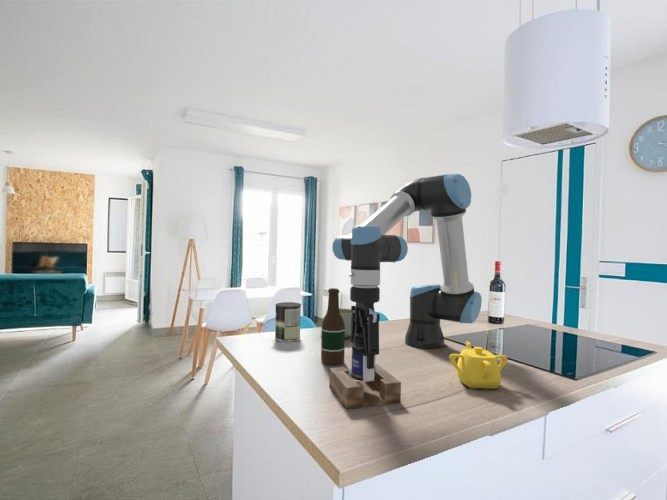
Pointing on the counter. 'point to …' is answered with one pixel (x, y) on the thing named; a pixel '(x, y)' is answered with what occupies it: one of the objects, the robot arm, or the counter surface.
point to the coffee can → (287, 321)
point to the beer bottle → (333, 332)
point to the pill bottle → (358, 357)
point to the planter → (346, 320)
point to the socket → (365, 388)
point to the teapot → (478, 367)
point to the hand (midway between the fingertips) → (363, 375)
